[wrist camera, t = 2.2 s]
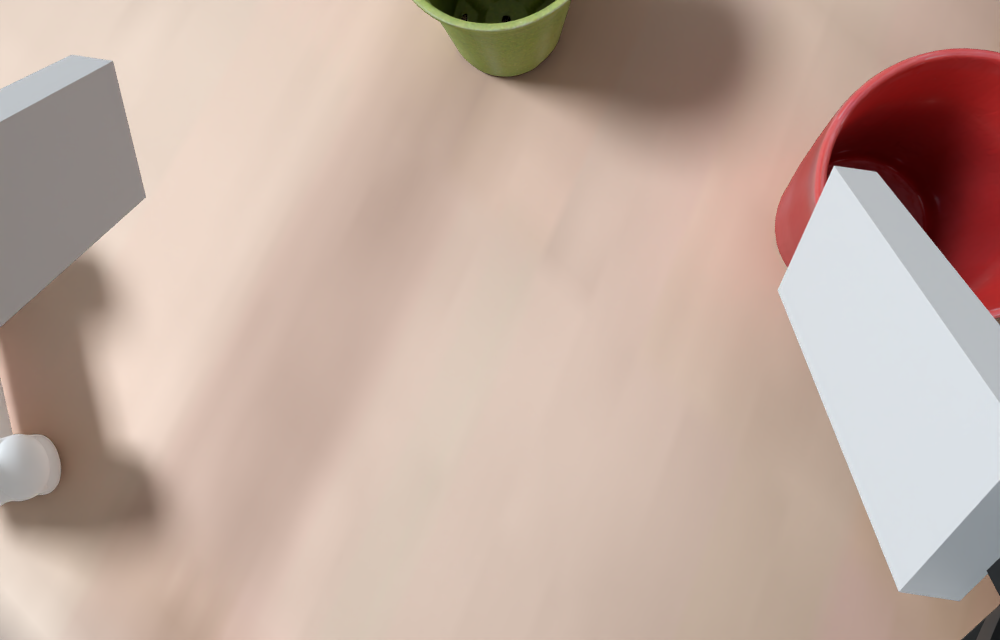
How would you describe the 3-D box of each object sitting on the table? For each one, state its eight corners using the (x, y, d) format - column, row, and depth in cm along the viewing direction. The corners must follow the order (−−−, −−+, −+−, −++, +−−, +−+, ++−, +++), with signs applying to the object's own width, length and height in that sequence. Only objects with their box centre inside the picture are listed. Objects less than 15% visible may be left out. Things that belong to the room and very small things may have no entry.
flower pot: (968, 324, 34) (1132, 314, 25) (750, 336, 35) (826, 330, 25) (950, 122, 35) (1104, 34, 25) (736, 138, 36) (805, 58, 26)
